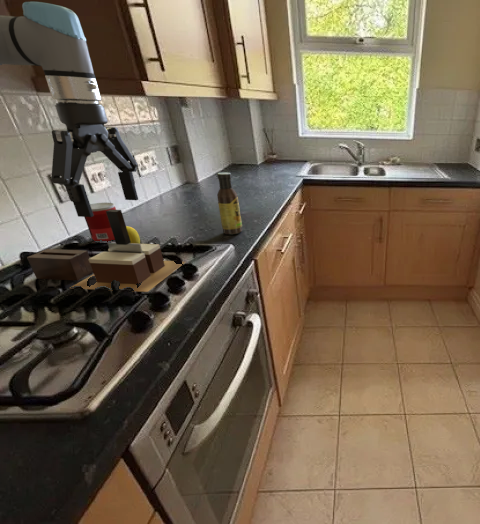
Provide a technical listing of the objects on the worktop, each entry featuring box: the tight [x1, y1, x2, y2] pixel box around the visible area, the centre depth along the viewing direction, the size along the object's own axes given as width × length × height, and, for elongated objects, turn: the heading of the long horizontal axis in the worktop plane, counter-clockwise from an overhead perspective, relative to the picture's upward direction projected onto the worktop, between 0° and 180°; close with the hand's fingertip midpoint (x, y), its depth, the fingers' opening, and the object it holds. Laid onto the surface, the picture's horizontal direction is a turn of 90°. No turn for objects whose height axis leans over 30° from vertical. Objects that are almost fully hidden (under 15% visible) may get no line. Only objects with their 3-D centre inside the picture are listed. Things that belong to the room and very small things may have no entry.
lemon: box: [126, 225, 141, 244], centre depth 95 cm, size 6×6×8 cm
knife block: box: [26, 248, 93, 282], centre depth 79 cm, size 10×5×7 cm, turn 87°
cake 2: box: [107, 243, 165, 273], centre depth 82 cm, size 10×4×6 cm, turn 87°
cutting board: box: [69, 260, 187, 293], centre depth 81 cm, size 18×16×2 cm
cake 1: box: [89, 251, 151, 284], centre depth 77 cm, size 10×4×6 cm, turn 88°
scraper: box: [106, 209, 143, 253], centre depth 78 cm, size 8×2×16 cm, turn 87°
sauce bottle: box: [216, 171, 243, 236], centre depth 109 cm, size 6×6×20 cm
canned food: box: [83, 202, 117, 242], centre depth 102 cm, size 8×8×11 cm
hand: (111, 207), depth 74 cm, fingers open, 13 cm apart
